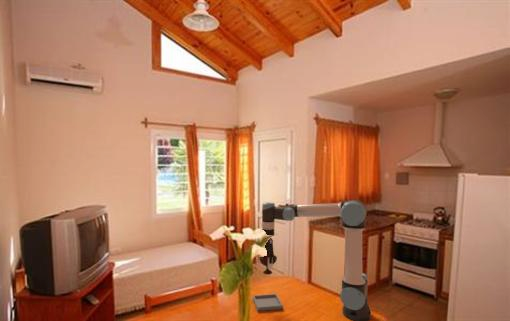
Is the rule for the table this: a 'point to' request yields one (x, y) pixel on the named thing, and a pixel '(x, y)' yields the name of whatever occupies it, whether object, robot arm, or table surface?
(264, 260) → the ice cream bowl
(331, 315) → the table surface
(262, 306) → the tray
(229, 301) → the table surface
